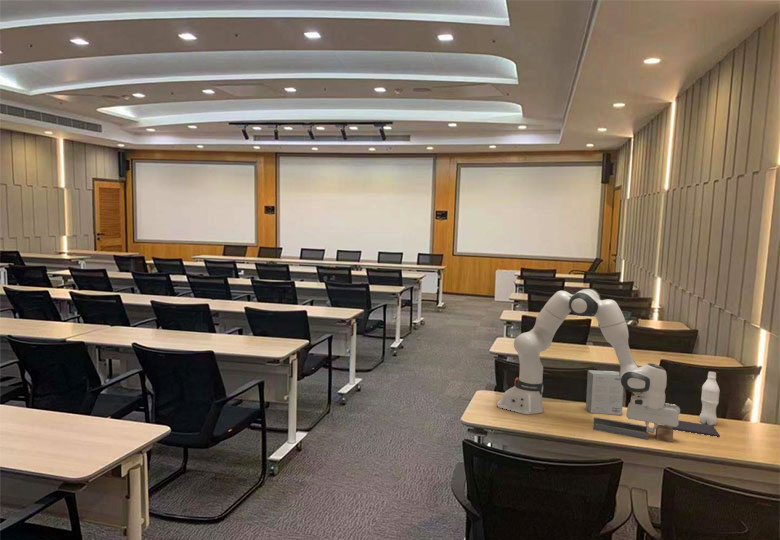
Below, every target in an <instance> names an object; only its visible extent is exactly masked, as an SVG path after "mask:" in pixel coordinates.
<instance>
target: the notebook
mask: <svg viewBox="0 0 780 540" xmlns="http://www.w3.org/2000/svg"><path fill="white" fill-rule="evenodd" d="M665 426H668V425H665ZM671 427H672V429H673V431H676V430H678V431H677V432H683V431H685V432H684V433H689V432H691V433H690V434H695V433H697V435H701V434H704V435H703V436H707V435H710V436H709V437H713V436H717V437H716V438H719V437H720V434H719V432H718V431H717V428H715V425H708V424H706V423H705V424H703V423H699V422H697V423H696V422H692V421H686V420H685V421H684V420H679V424H678V426H677V427H673V426H671Z"/></svg>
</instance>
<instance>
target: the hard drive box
mask: <svg viewBox="0 0 780 540" xmlns="http://www.w3.org/2000/svg"><path fill="white" fill-rule="evenodd" d="M619 372H620V371H611V370H593V369H592V370H590V369H589V370H587V384H586V401H585V409H586V410H587V411H588V412H589V413H590V414H599V415H612V416H622V415H623V401H624V389H625V388H624V387H623V386H622V384H621V379H620V375H619Z"/></svg>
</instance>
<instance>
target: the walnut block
mask: <svg viewBox="0 0 780 540" xmlns="http://www.w3.org/2000/svg"><path fill="white" fill-rule="evenodd" d="M654 434H655V439H656V441H661V442H666V441H667V442H666V443H673V439H674V430H673V429H672V427H671V426H665V425H662V424H658V427H657V428H656V429H655V433H654Z"/></svg>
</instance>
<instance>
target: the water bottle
mask: <svg viewBox="0 0 780 540" xmlns="http://www.w3.org/2000/svg"><path fill="white" fill-rule="evenodd" d="M720 391H721V390H720V387H719V385H718V382H717V373H716V371H708V373H707V379H706V381H705V382H704V383H703V384H702V386H701V398H700V400H701V404H702V405H701V411H700V412H701V413H700V414H699V421H700V422H701V423H700V424H705V425H706V423H707V425H711V426H715V425H716V424H717V422H718V418H717V407H718V405H719V402H720V401H719V400H720V399H719V398H720Z"/></svg>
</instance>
